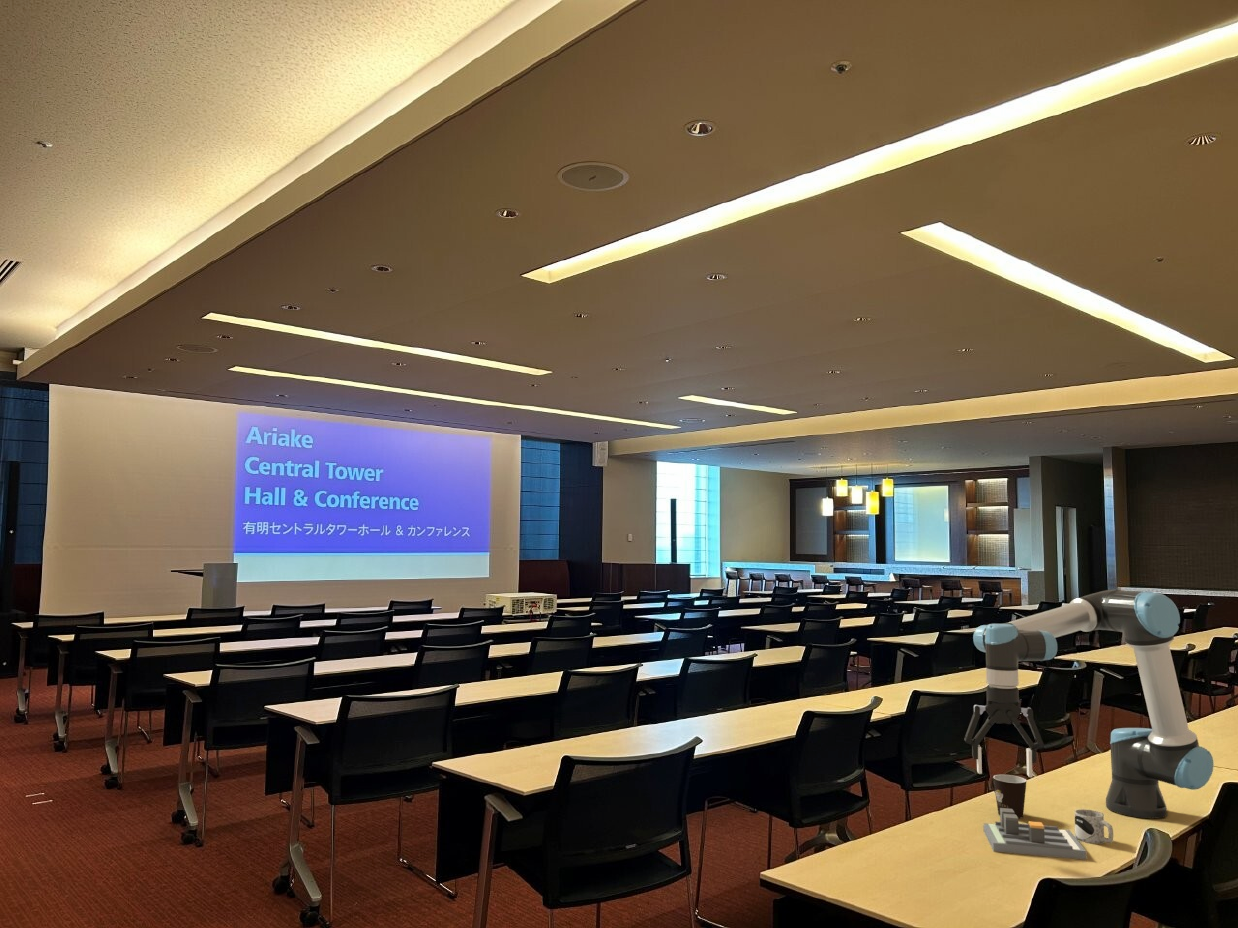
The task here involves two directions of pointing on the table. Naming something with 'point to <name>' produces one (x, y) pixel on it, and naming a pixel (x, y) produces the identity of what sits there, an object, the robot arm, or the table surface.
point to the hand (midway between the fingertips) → (1004, 774)
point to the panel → (1055, 843)
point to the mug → (1091, 827)
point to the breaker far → (1004, 811)
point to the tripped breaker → (1036, 832)
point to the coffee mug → (1010, 793)
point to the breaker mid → (1011, 824)
